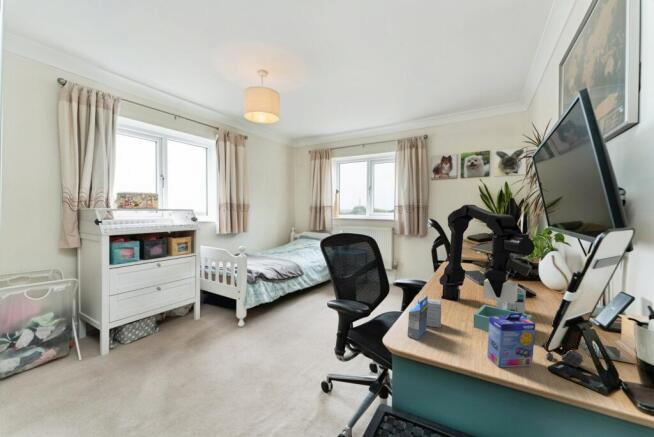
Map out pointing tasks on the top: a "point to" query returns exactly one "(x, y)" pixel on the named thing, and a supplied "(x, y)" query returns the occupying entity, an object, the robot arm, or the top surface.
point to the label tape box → (418, 319)
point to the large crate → (485, 311)
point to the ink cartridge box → (511, 340)
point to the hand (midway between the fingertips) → (500, 295)
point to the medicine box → (433, 312)
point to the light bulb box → (518, 305)
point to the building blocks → (567, 357)
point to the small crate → (507, 292)
